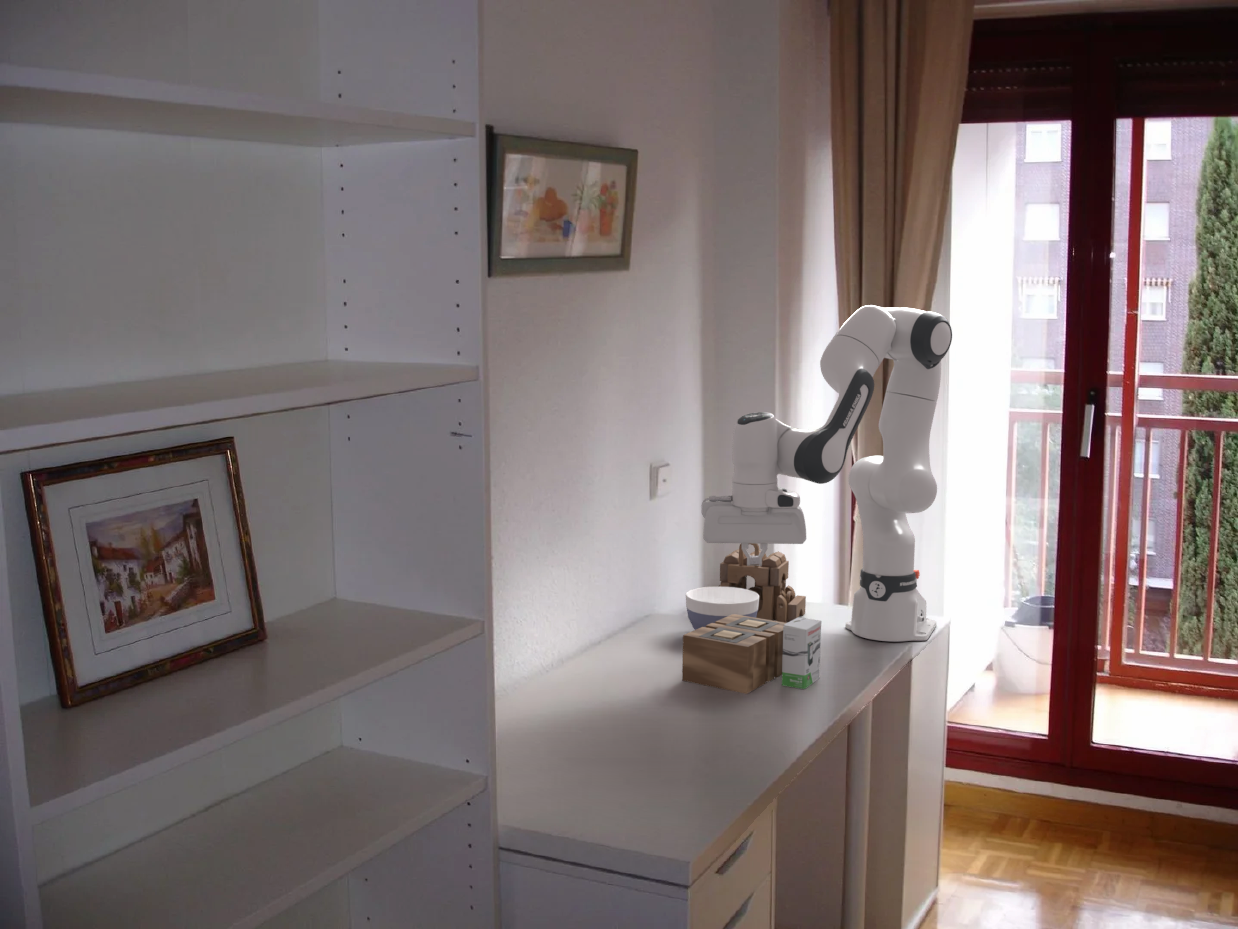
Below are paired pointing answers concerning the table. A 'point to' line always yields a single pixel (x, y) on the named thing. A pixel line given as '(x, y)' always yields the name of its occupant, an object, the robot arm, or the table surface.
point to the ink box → (801, 652)
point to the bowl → (719, 604)
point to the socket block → (733, 654)
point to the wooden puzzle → (764, 584)
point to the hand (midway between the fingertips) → (754, 565)
